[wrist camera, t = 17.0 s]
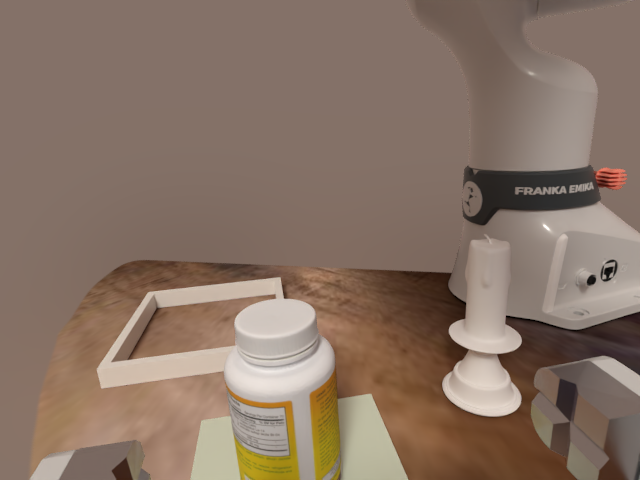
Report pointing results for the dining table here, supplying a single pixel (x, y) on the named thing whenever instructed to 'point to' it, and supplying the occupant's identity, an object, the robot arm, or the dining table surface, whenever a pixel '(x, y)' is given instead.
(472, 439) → the dining table surface
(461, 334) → the candle
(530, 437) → the dining table surface
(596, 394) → the robot arm
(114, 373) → the white square frame
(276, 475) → the supplement bottle
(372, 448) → the mat
